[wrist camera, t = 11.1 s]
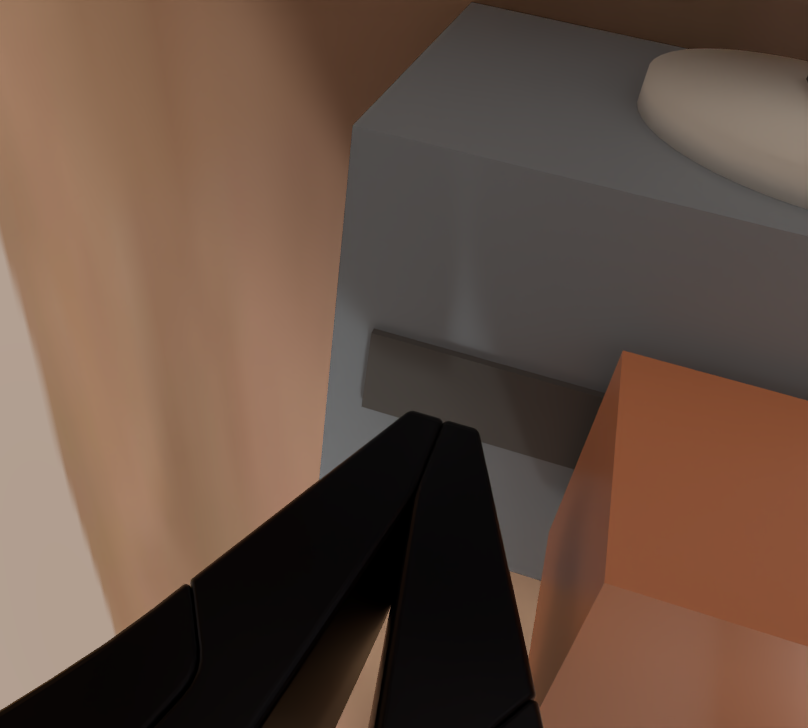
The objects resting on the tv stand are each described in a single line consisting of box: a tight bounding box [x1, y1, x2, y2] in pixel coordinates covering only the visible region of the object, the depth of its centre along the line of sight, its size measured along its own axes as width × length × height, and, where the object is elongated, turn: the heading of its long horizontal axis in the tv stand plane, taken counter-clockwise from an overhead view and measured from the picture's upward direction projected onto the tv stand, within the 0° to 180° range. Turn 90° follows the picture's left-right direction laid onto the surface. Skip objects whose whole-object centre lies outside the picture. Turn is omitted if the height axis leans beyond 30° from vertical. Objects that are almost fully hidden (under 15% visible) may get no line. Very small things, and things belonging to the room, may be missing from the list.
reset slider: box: [528, 350, 808, 728], centre depth 7 cm, size 3×3×3 cm
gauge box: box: [319, 2, 808, 581], centre depth 11 cm, size 6×10×6 cm, turn 82°
